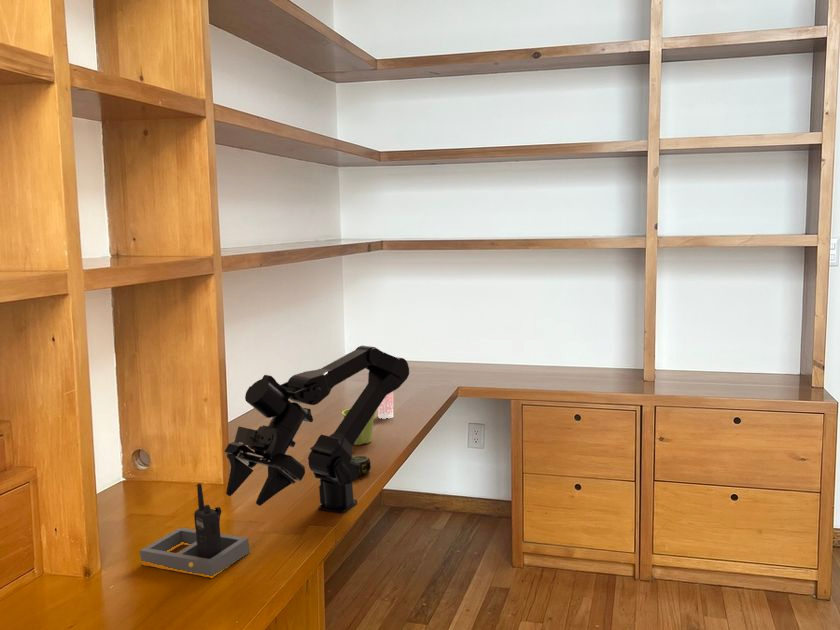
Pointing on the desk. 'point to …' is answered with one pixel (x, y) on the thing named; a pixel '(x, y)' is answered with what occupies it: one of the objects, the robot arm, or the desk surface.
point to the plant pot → (366, 433)
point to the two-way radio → (207, 528)
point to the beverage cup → (386, 407)
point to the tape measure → (361, 464)
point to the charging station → (194, 552)
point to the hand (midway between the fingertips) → (242, 499)
